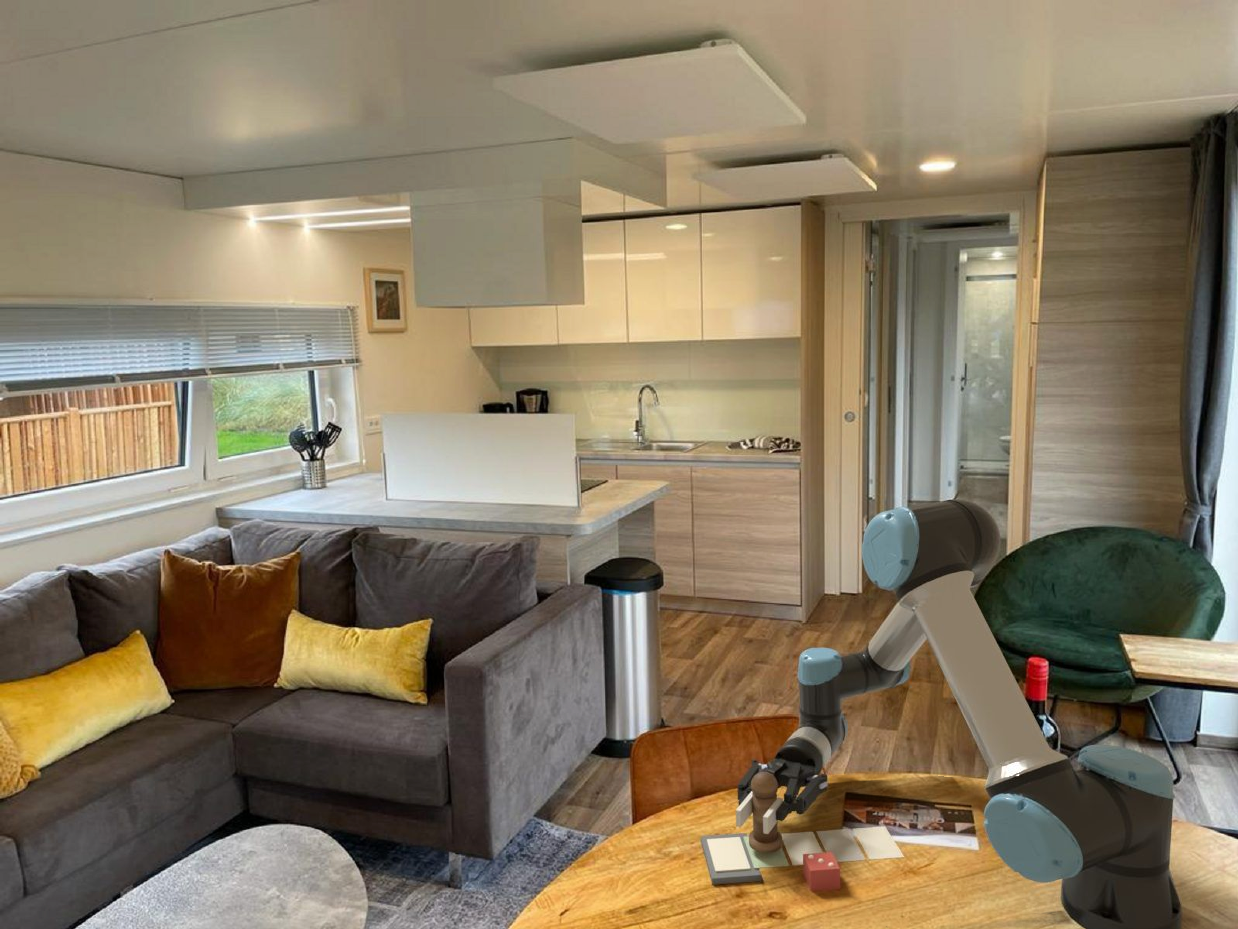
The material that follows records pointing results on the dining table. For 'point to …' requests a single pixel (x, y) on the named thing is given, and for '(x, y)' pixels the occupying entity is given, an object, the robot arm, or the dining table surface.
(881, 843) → the game board
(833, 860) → the red die
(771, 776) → the pawn
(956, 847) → the dining table surface
